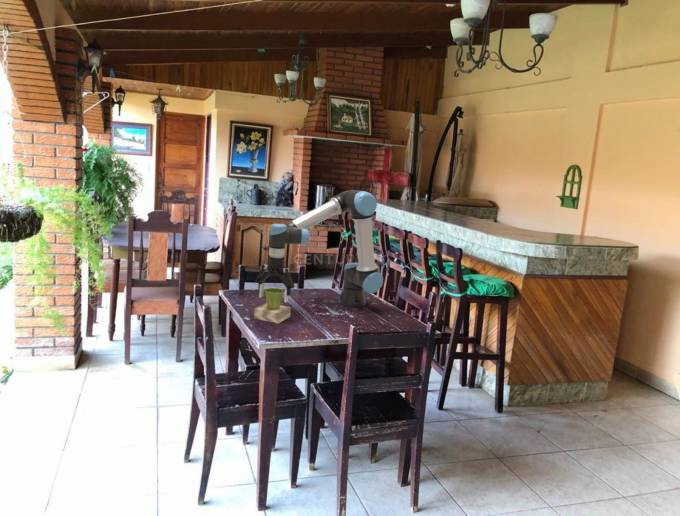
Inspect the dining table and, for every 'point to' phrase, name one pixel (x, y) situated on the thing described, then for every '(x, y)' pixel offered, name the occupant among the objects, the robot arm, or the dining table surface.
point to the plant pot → (273, 297)
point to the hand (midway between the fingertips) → (273, 299)
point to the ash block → (272, 313)
